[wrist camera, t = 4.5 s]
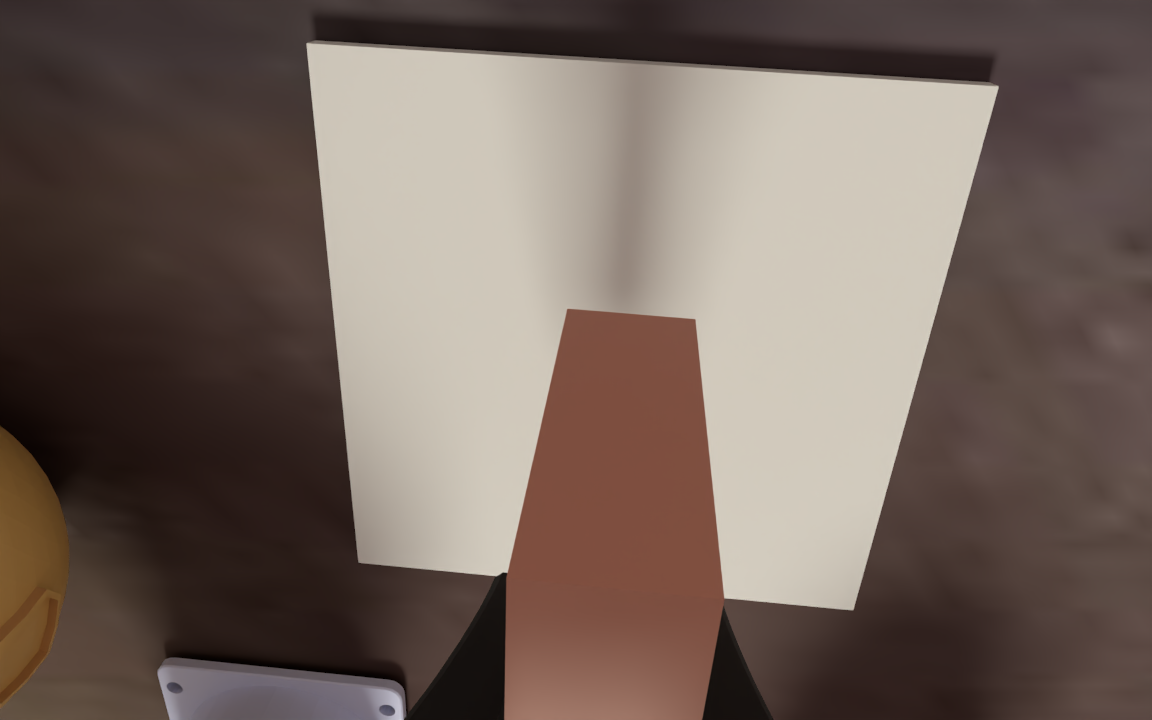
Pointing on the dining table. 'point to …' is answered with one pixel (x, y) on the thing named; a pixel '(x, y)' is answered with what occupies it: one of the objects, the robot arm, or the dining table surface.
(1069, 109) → the dining table surface
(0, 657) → the stress ball
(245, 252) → the dining table surface
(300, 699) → the robot arm
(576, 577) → the slab
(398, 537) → the mat
